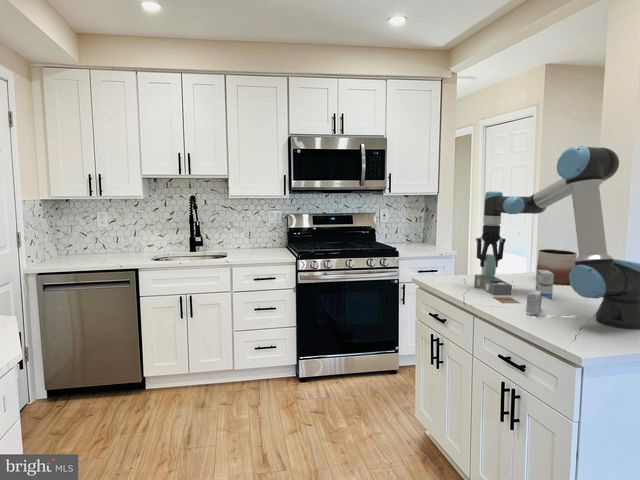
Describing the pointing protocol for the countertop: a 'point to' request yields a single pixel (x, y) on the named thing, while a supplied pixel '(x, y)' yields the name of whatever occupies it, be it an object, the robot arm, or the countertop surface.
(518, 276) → the countertop surface
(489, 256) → the plug
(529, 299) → the medicine box
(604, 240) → the robot arm
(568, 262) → the planter
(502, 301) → the brown flat block
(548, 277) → the ink box
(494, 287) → the socket strip
